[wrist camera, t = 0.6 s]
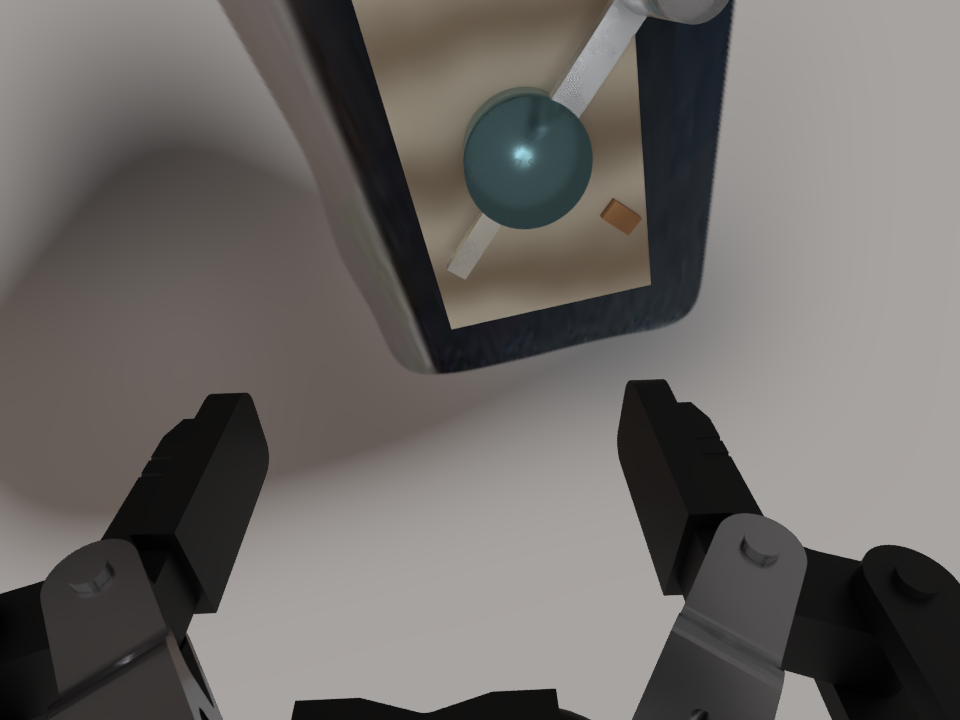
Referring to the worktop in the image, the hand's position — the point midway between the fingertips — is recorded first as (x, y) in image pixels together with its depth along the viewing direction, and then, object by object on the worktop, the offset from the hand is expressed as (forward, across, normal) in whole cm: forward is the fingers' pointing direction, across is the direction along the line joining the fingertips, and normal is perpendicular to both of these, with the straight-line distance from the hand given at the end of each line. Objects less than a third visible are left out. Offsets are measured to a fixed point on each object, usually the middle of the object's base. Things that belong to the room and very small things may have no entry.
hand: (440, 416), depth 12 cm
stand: (+25, -4, +1) cm, 26 cm away
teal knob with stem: (+22, -5, -1) cm, 22 cm away
